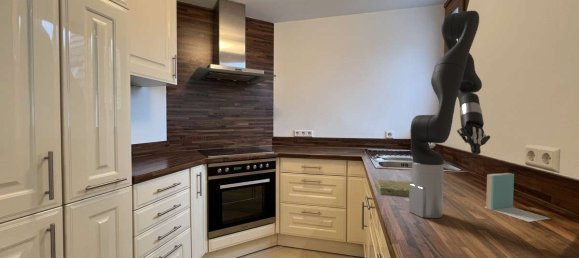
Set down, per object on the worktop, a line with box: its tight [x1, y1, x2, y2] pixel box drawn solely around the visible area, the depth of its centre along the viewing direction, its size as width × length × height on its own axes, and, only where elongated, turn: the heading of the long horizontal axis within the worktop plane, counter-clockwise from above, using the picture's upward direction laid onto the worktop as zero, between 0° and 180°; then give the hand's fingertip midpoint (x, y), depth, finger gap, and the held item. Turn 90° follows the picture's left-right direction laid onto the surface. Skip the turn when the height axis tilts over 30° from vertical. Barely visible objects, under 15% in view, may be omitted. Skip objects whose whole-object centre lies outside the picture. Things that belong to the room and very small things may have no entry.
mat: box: [483, 206, 551, 223], centre depth 89 cm, size 10×14×1 cm
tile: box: [485, 172, 515, 211], centre depth 94 cm, size 10×2×12 cm, turn 107°
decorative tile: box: [374, 179, 412, 198], centre depth 117 cm, size 19×20×4 cm
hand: (476, 153), depth 100 cm, fingers closed
